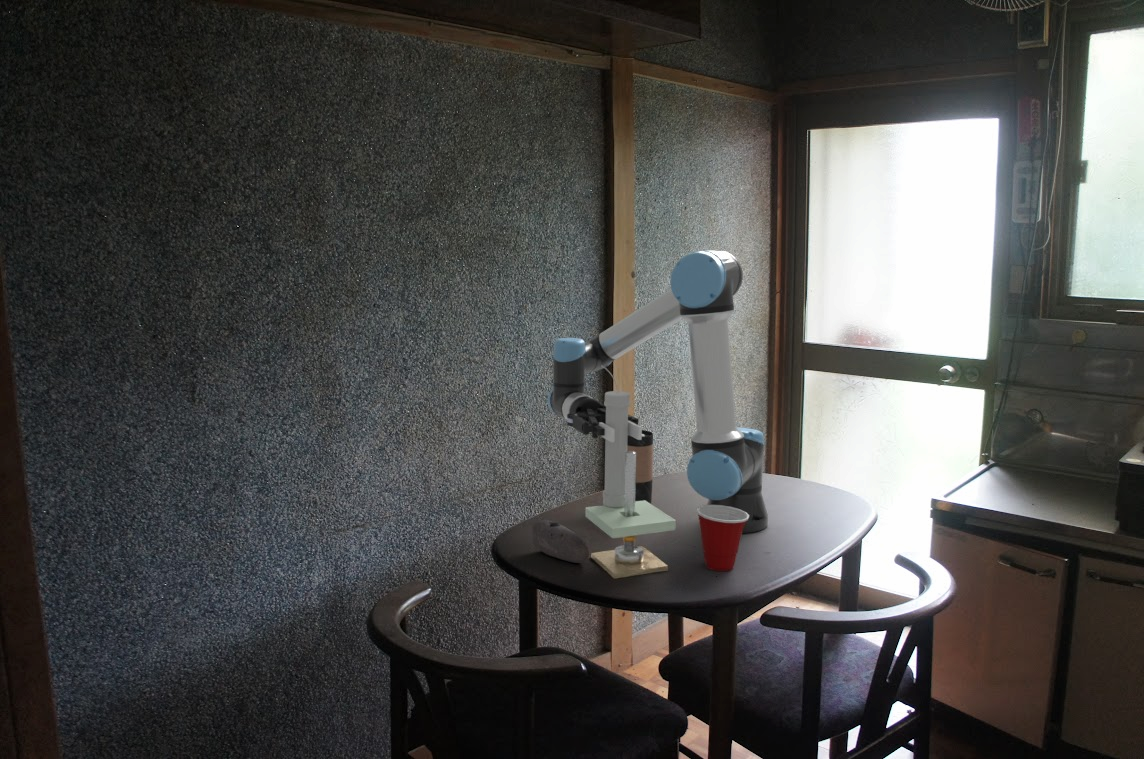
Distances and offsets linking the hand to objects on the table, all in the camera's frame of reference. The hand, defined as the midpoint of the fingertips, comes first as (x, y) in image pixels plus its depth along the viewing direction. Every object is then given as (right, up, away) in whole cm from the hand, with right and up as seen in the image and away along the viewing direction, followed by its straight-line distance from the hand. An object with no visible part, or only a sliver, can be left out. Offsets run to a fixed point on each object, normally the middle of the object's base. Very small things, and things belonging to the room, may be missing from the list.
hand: (626, 434), depth 175 cm
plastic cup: (+20, -28, +3) cm, 34 cm away
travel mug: (+5, -22, +37) cm, 43 cm away
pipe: (-2, -16, +8) cm, 17 cm away
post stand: (+1, -27, +3) cm, 27 cm away
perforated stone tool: (-13, -27, +7) cm, 31 cm away
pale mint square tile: (+1, -18, +2) cm, 19 cm away
